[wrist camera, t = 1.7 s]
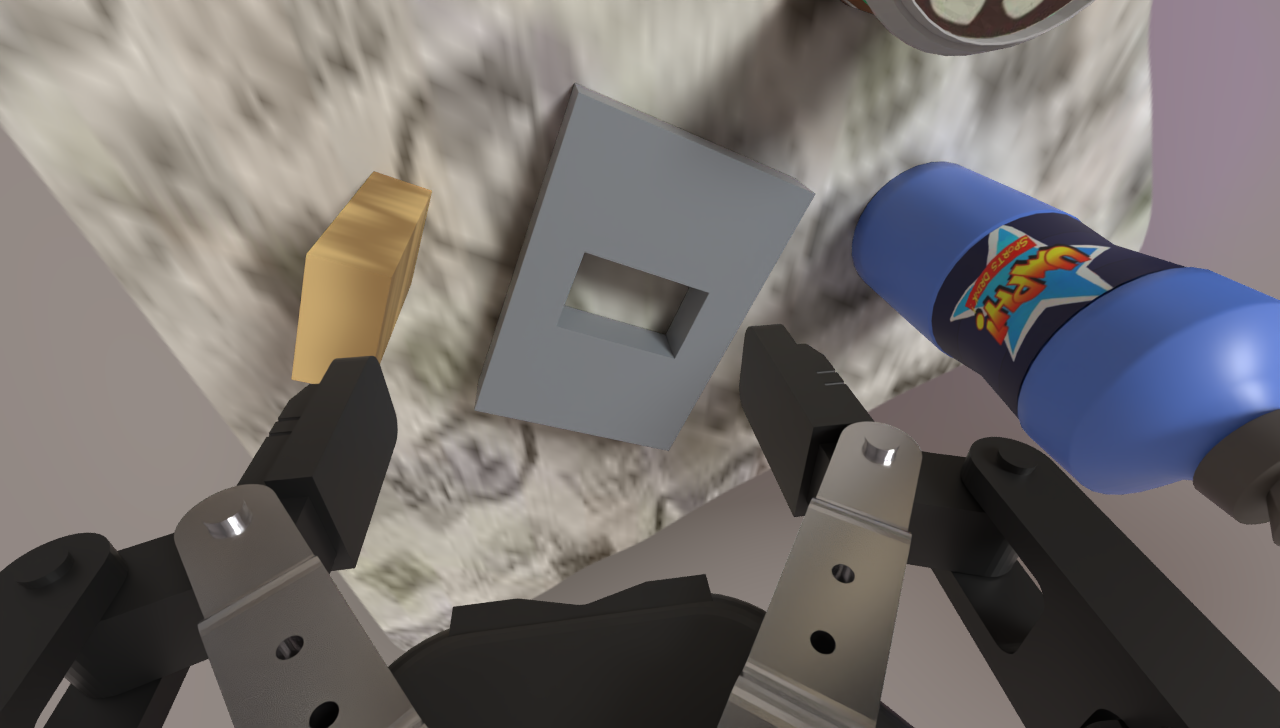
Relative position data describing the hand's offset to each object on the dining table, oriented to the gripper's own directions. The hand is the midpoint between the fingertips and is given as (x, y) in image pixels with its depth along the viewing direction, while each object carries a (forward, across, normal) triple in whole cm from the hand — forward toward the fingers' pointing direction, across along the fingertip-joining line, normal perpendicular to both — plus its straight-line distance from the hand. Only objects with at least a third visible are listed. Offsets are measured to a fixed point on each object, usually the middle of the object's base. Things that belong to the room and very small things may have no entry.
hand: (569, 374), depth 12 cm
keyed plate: (+22, -4, +9) cm, 24 cm away
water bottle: (+23, -23, +6) cm, 33 cm away
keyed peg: (+22, +10, +4) cm, 24 cm away
